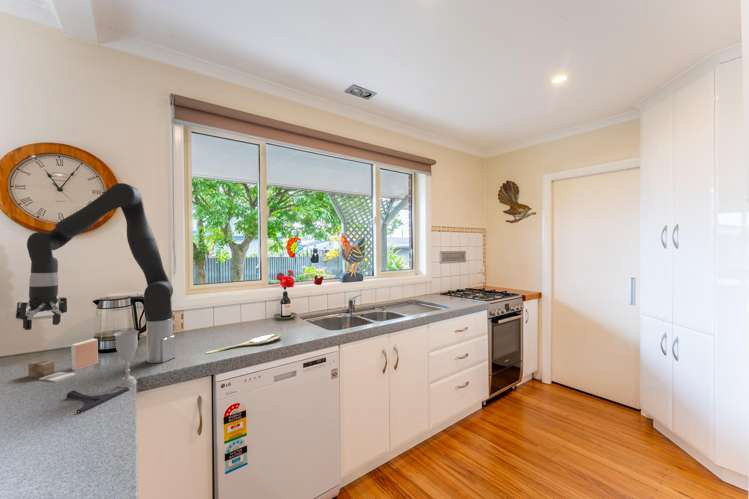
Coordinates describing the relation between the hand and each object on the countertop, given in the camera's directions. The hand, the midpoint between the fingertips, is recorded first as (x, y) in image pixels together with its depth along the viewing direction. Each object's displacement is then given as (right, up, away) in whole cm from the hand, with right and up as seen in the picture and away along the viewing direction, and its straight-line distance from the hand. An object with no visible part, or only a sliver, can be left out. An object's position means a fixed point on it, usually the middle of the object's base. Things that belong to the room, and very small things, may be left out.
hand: (42, 327), depth 118 cm
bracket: (+36, -19, -20) cm, 45 cm away
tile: (+9, -18, +8) cm, 21 cm away
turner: (+5, -18, -2) cm, 19 cm away
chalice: (+40, -18, -9) cm, 45 cm away
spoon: (+64, -17, +32) cm, 74 cm away
